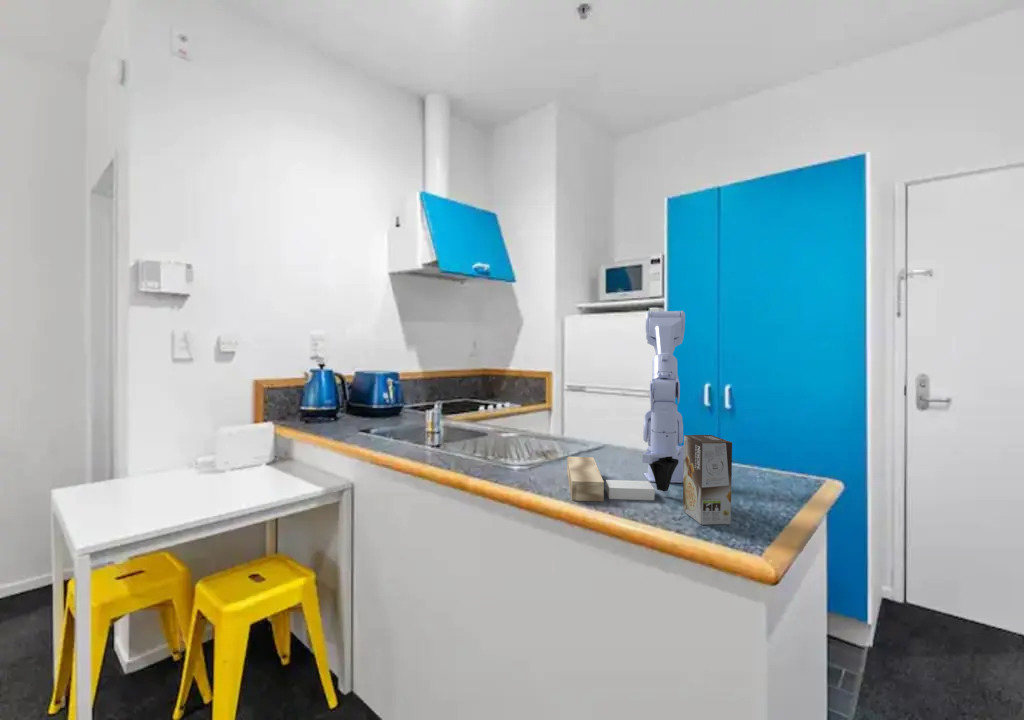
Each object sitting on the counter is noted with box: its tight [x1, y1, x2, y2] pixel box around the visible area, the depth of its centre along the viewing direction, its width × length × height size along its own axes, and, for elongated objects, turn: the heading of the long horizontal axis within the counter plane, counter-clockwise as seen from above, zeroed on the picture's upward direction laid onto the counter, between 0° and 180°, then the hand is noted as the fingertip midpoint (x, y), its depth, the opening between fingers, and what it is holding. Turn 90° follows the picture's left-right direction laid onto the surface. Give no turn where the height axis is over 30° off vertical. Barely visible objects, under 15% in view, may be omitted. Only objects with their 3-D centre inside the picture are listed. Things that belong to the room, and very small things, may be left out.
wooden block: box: [566, 456, 605, 503], centre depth 125 cm, size 7×26×4 cm, turn 176°
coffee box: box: [682, 434, 733, 526], centre depth 102 cm, size 9×6×16 cm
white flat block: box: [605, 479, 656, 501], centre depth 117 cm, size 10×7×2 cm
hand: (662, 490), depth 116 cm, fingers closed
